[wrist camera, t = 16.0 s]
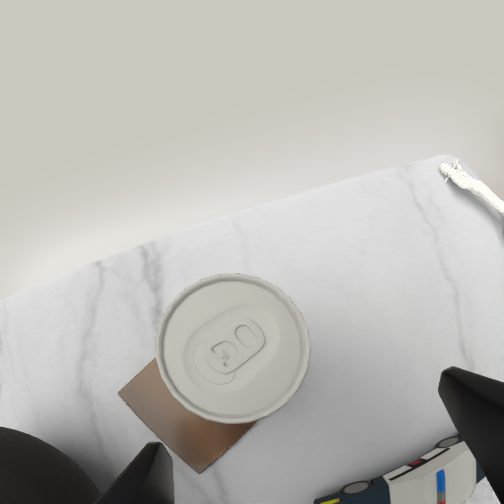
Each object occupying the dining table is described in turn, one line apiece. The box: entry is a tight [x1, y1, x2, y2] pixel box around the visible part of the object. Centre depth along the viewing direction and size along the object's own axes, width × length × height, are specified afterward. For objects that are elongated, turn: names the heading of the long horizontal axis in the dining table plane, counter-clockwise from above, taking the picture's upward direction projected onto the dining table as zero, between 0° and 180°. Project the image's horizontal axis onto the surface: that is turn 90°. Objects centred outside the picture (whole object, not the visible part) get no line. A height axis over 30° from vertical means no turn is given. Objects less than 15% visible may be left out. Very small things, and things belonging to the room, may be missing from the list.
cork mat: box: [118, 358, 258, 474], centre depth 19 cm, size 11×8×1 cm
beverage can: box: [156, 273, 310, 424], centre depth 14 cm, size 5×5×12 cm
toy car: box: [314, 434, 485, 504], centre depth 13 cm, size 5×16×5 cm, turn 100°
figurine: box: [440, 159, 504, 214], centre depth 26 cm, size 7×7×12 cm
